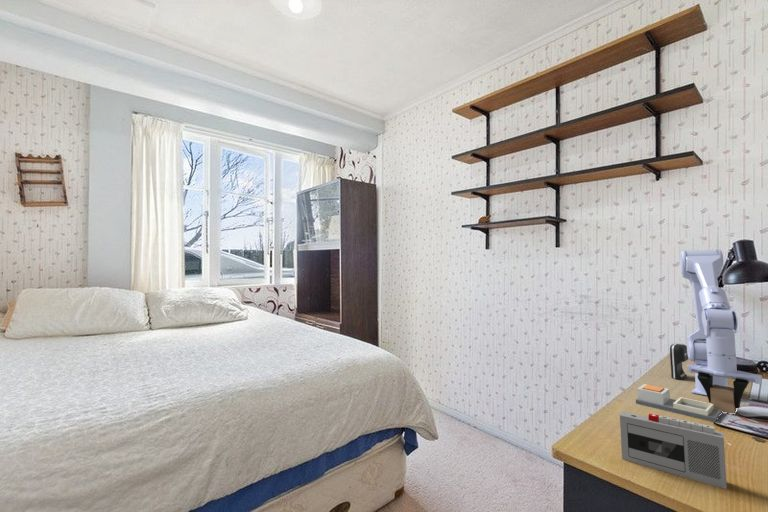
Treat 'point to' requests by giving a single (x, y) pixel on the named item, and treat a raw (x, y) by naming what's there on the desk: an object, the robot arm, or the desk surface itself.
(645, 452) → the cassette player
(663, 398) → the grey tray with holders
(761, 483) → the desk surface
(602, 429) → the desk surface
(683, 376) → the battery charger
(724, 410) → the block
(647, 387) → the button
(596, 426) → the desk surface
